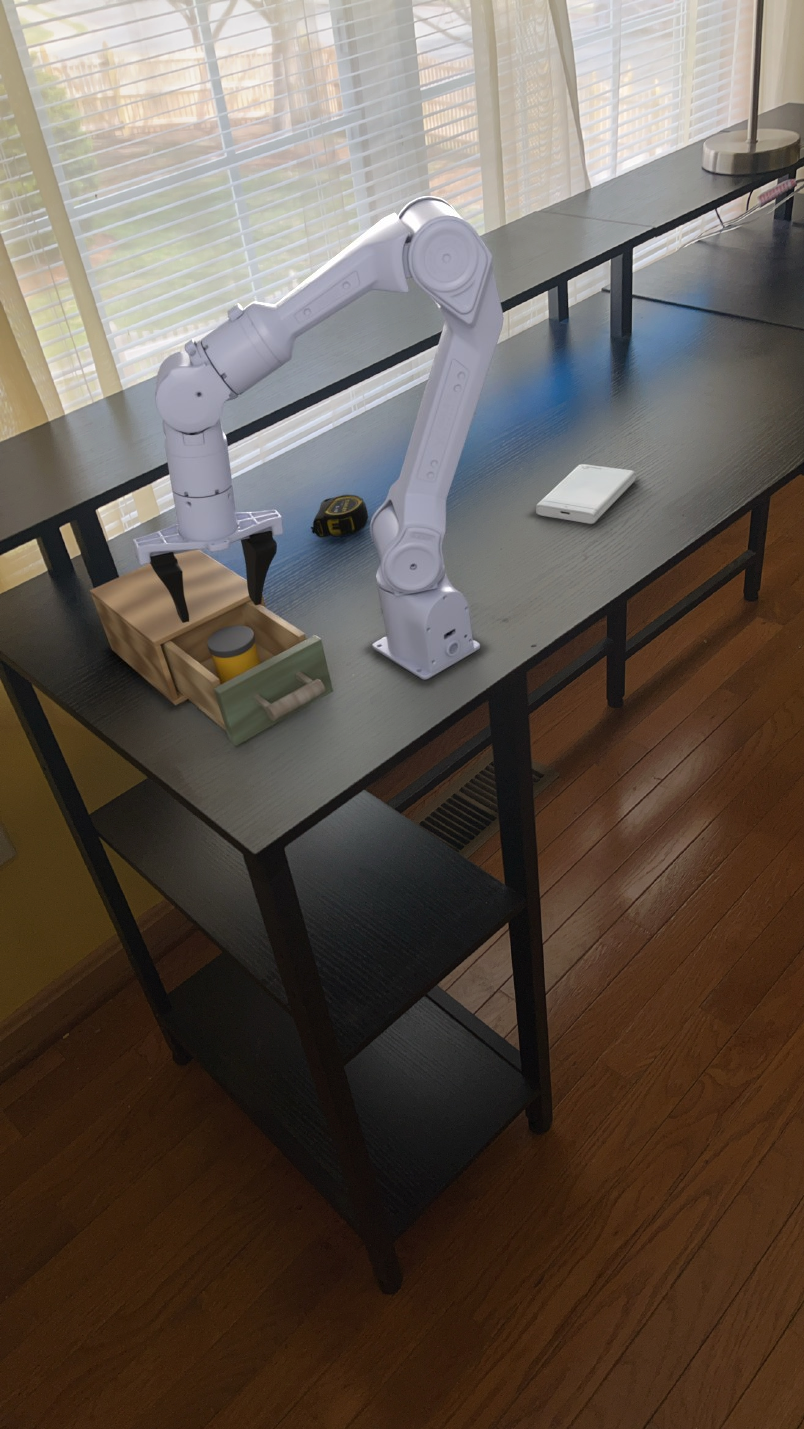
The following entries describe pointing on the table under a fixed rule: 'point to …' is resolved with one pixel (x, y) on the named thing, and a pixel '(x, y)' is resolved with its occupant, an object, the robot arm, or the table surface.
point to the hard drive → (586, 493)
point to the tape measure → (340, 516)
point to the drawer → (250, 672)
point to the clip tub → (233, 651)
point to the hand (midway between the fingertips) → (219, 609)
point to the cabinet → (164, 612)
